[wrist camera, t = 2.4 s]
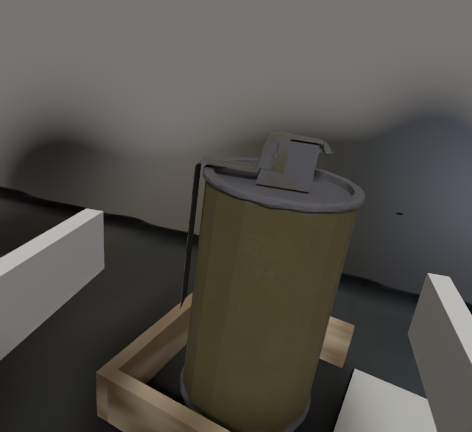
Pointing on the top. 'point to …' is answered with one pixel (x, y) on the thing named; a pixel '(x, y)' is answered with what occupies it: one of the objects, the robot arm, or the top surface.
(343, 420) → the mat
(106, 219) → the top surface
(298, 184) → the canister
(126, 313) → the top surface
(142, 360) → the tan low open frame
